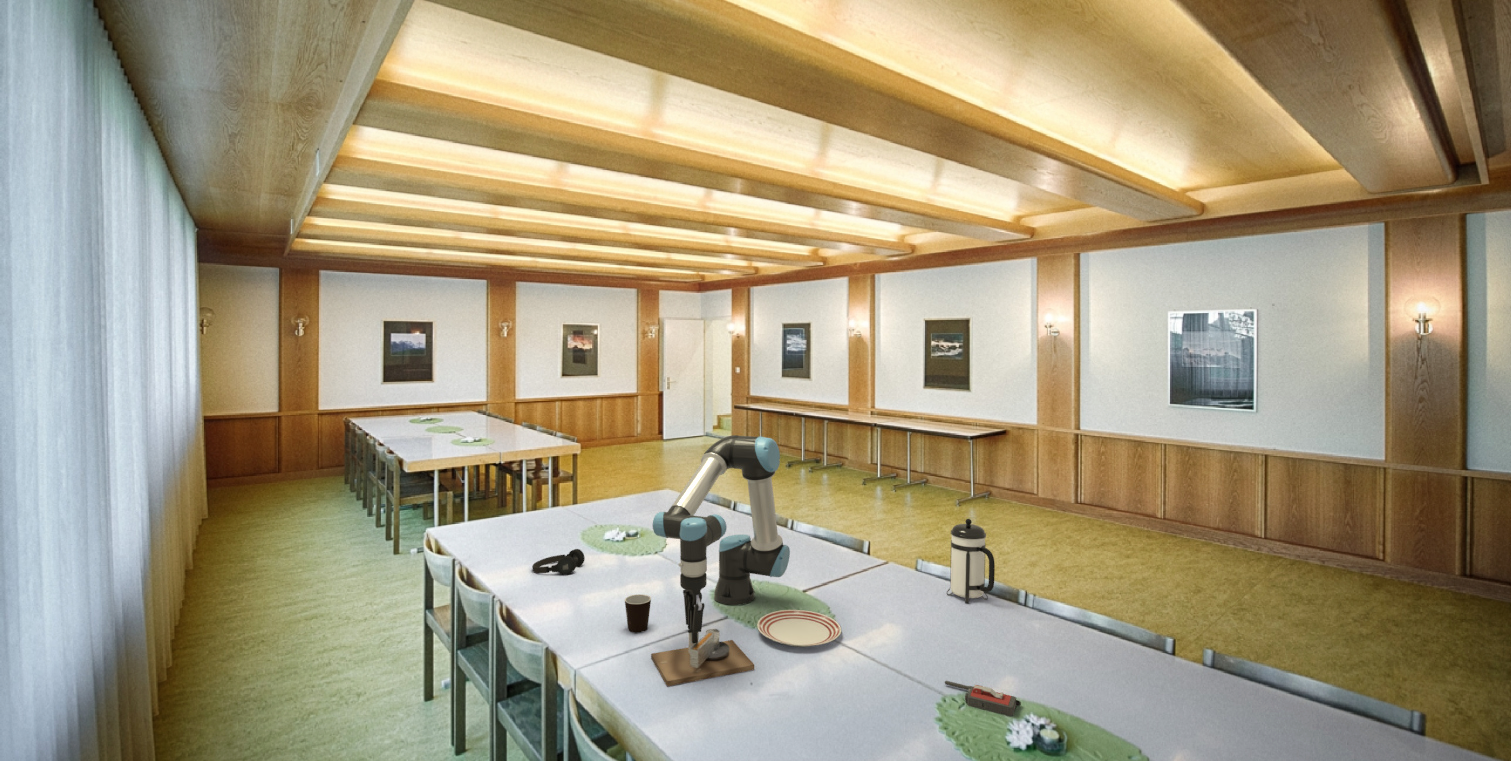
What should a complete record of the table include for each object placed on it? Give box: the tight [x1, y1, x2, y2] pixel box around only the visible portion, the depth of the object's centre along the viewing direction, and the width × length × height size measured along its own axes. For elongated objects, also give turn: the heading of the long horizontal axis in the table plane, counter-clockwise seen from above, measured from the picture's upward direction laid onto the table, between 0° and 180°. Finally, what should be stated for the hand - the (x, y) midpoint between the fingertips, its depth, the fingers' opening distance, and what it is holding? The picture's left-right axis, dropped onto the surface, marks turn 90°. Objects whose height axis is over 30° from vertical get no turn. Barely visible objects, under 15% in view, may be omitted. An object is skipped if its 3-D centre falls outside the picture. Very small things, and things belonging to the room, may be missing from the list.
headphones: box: [531, 548, 585, 576], centre depth 279 cm, size 17×7×20 cm
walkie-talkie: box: [944, 680, 1022, 717], centre depth 175 cm, size 9×4×20 cm
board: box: [650, 639, 755, 687], centre depth 194 cm, size 26×18×2 cm
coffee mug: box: [624, 594, 652, 634], centre depth 220 cm, size 12×9×10 cm
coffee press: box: [946, 518, 996, 604], centre depth 249 cm, size 17×16×30 cm
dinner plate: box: [756, 609, 842, 648], centre depth 216 cm, size 27×27×3 cm
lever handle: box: [690, 628, 729, 668], centre depth 194 cm, size 18×10×7 cm, turn 160°
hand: (693, 652), depth 191 cm, fingers closed
